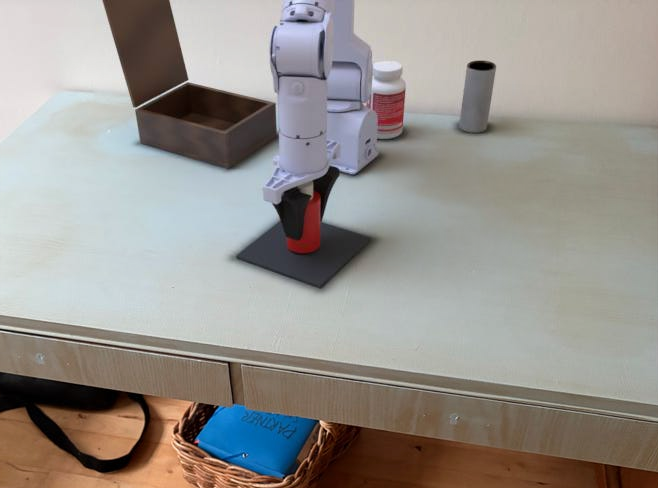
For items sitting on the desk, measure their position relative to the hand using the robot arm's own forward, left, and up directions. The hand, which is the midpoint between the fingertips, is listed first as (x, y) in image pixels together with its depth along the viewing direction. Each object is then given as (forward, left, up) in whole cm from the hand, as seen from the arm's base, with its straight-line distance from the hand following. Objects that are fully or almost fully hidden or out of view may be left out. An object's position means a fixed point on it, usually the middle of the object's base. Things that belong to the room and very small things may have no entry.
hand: (304, 228), depth 97 cm
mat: (0, 0, -3) cm, 3 cm away
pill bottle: (+8, -37, -3) cm, 38 cm away
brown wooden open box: (+32, -20, -3) cm, 38 cm away
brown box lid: (+43, -20, +13) cm, 49 cm away
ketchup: (0, 0, -2) cm, 2 cm away
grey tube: (-4, -46, -3) cm, 46 cm away
